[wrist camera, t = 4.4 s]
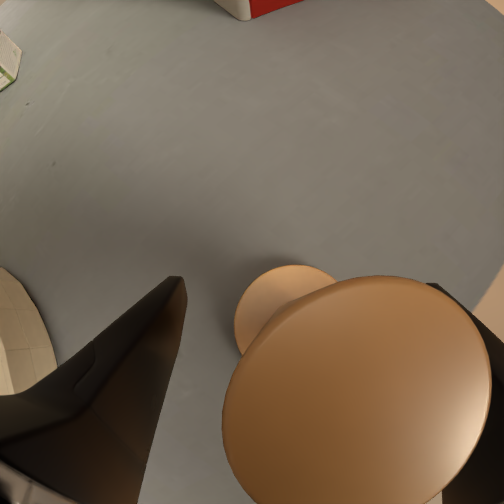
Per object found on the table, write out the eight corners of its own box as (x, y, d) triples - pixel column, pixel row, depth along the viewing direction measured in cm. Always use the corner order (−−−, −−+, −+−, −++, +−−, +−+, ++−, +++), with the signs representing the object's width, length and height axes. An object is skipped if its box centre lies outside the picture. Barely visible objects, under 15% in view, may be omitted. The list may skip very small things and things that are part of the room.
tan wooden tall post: (369, 341, 16) (606, 417, 2) (273, 399, 16) (244, 644, 1) (313, 246, 17) (420, 25, 3) (216, 304, 17) (-24, 283, 3)
